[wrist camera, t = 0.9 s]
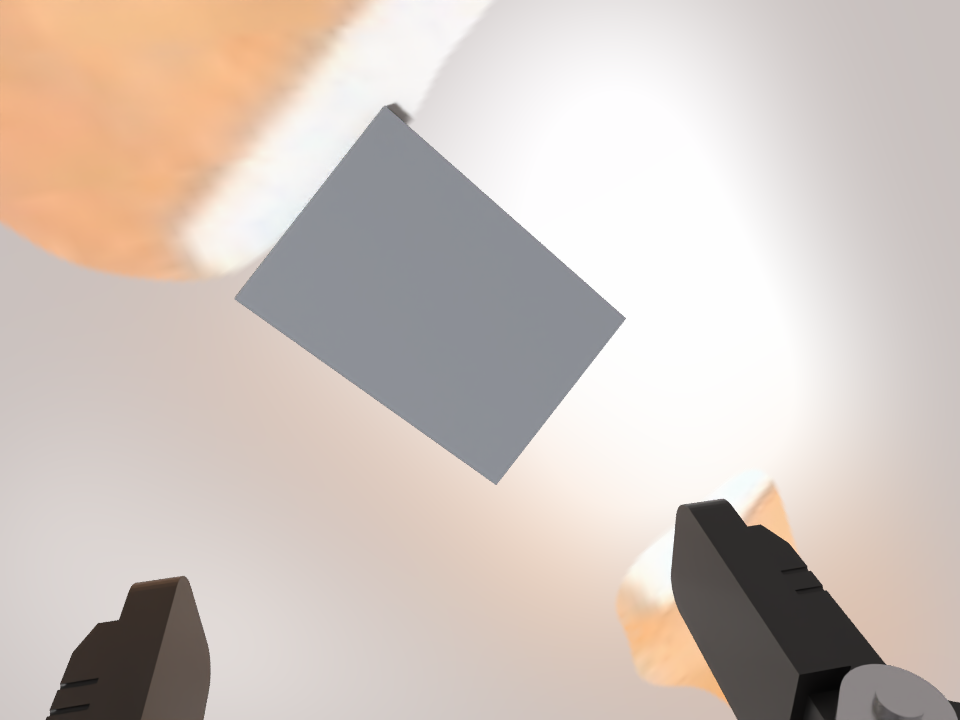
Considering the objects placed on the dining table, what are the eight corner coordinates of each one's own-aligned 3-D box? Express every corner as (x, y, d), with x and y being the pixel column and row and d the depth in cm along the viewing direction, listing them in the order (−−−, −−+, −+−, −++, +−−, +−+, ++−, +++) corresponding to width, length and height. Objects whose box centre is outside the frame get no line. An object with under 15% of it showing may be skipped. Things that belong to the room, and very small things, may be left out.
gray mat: (234, 297, 34) (234, 299, 34) (383, 107, 34) (385, 105, 34) (492, 480, 40) (496, 485, 39) (620, 316, 40) (626, 318, 39)
